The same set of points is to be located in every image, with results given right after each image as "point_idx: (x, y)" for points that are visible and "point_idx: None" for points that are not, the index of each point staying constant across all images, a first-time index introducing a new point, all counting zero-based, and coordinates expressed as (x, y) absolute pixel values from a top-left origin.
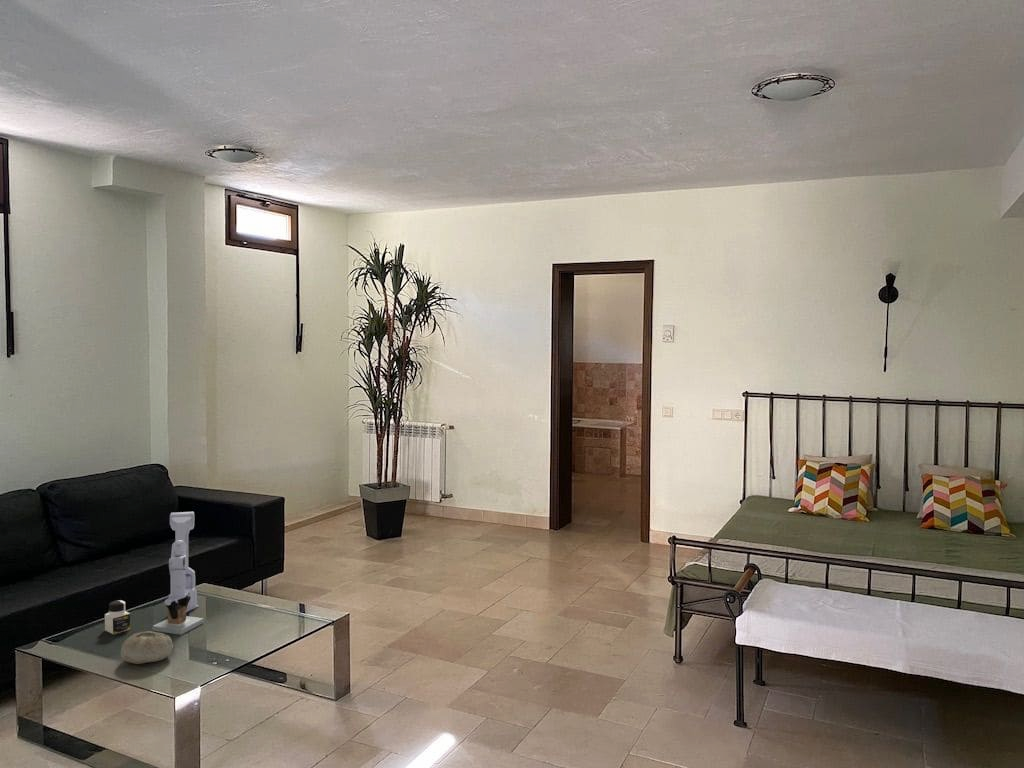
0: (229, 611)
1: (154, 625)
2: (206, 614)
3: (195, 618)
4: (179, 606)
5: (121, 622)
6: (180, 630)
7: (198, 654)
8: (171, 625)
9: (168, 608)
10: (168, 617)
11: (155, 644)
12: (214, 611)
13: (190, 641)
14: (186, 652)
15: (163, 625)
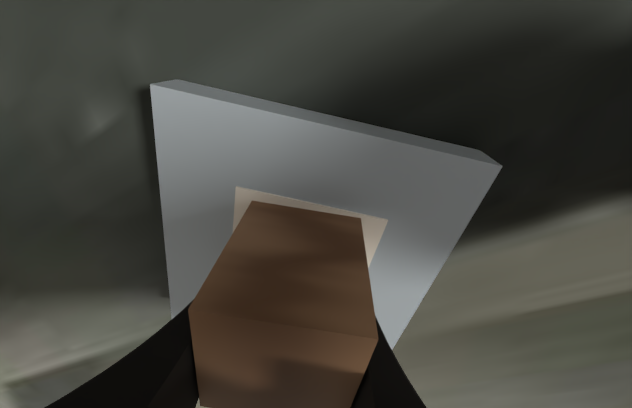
0: (565, 384)
1: (167, 97)
2: (546, 308)
3: (382, 328)
4: (323, 389)
5: None
6: (173, 312)
7: (53, 393)
8: (220, 242)
9: (107, 375)
10: (232, 239)
11: None
12: (598, 330)
13: (135, 348)
14: (39, 364)
15: (200, 183)
